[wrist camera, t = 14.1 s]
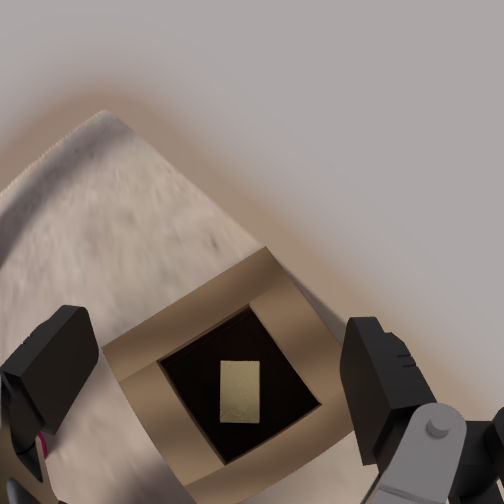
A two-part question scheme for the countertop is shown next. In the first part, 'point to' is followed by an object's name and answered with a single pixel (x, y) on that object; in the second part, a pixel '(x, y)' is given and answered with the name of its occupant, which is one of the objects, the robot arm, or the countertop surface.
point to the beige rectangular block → (240, 392)
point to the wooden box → (200, 331)
